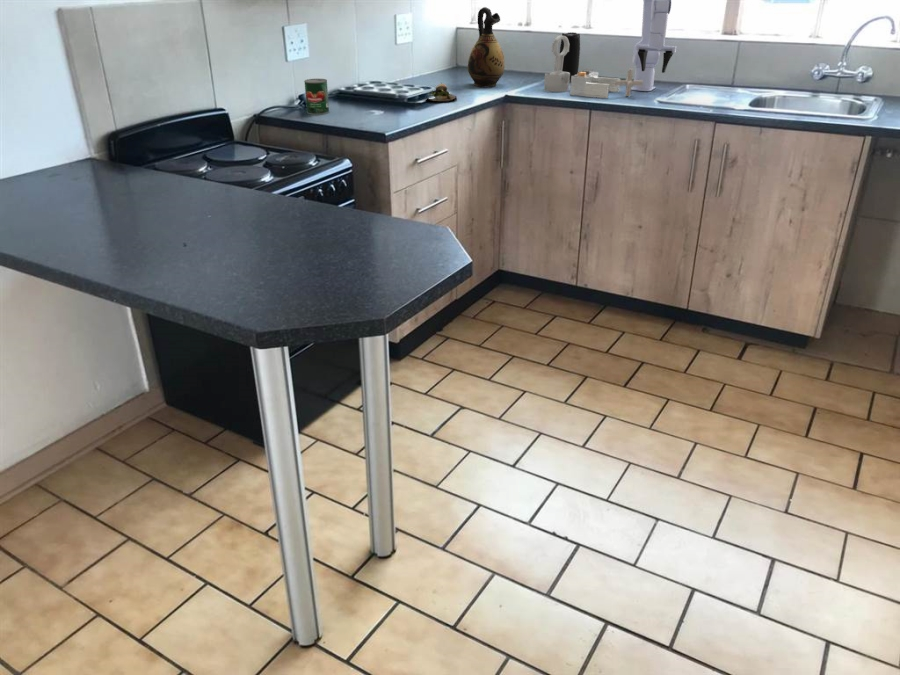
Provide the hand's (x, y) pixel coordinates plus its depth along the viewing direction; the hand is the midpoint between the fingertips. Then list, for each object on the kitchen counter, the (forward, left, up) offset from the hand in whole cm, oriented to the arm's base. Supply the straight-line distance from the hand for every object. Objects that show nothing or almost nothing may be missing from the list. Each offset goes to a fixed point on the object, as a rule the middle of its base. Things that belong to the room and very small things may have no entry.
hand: (653, 71), depth 281 cm
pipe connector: (-1, -9, -10) cm, 14 cm away
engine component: (-3, -39, -10) cm, 40 cm away
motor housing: (-1, -22, -10) cm, 25 cm away
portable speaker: (-26, -43, -10) cm, 51 cm away
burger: (+39, -70, -10) cm, 81 cm away
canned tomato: (+79, -98, -10) cm, 126 cm away
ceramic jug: (+1, -70, -10) cm, 71 cm away
